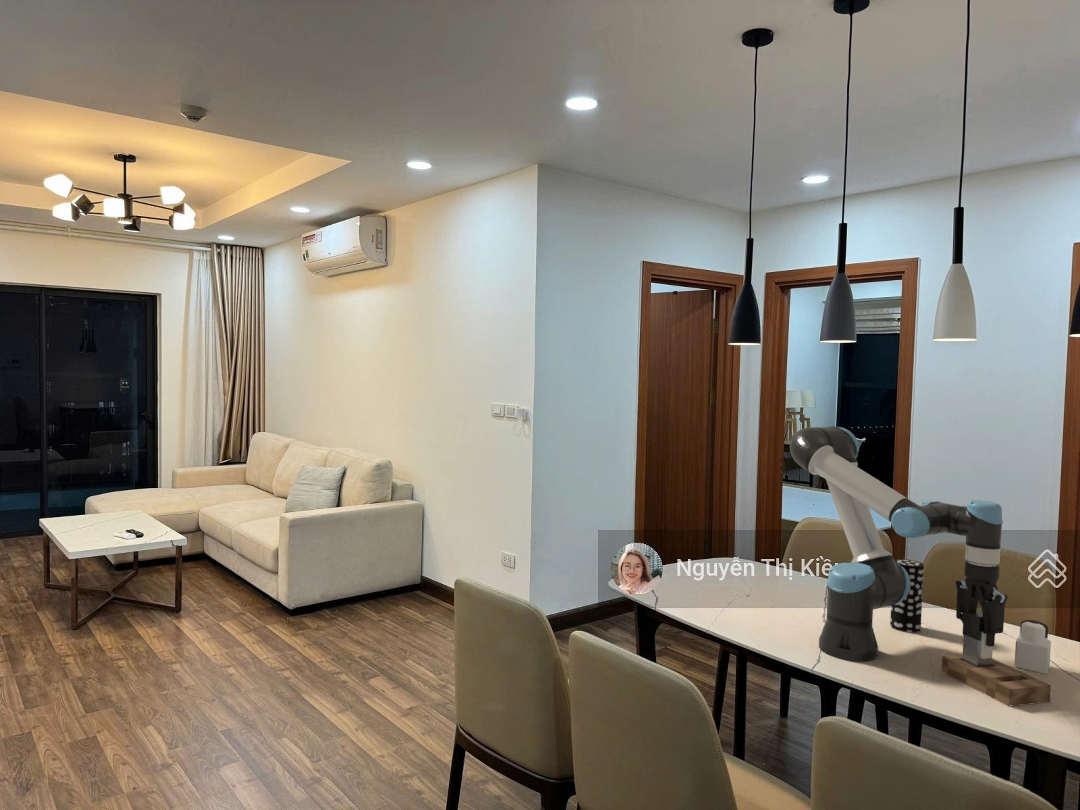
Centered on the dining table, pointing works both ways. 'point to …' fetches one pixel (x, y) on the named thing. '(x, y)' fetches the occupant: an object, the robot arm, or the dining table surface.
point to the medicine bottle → (1033, 647)
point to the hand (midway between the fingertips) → (977, 653)
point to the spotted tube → (909, 600)
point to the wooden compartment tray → (998, 681)
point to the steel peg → (974, 639)
